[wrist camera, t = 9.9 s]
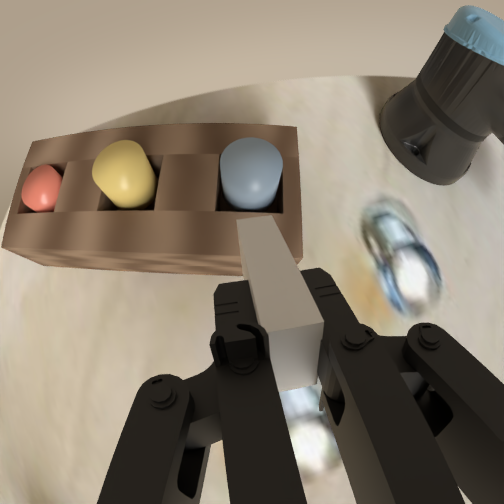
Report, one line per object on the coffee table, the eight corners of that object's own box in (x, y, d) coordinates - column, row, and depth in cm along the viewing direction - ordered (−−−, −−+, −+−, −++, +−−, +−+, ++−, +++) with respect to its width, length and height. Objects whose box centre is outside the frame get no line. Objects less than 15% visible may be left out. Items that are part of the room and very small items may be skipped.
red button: (80, 183, 27) (60, 162, 22) (71, 222, 26) (47, 205, 21) (49, 185, 27) (29, 166, 22) (40, 223, 26) (16, 207, 21)
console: (284, 170, 32) (296, 126, 25) (286, 277, 29) (302, 257, 22) (63, 174, 32) (32, 141, 24) (43, 265, 28) (1, 247, 21)
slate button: (275, 169, 25) (282, 138, 21) (276, 215, 24) (283, 191, 20) (224, 167, 25) (222, 136, 21) (221, 214, 24) (217, 188, 20)
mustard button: (162, 167, 25) (149, 138, 20) (154, 213, 24) (138, 188, 19) (118, 169, 25) (100, 142, 20) (108, 213, 24) (86, 191, 19)
